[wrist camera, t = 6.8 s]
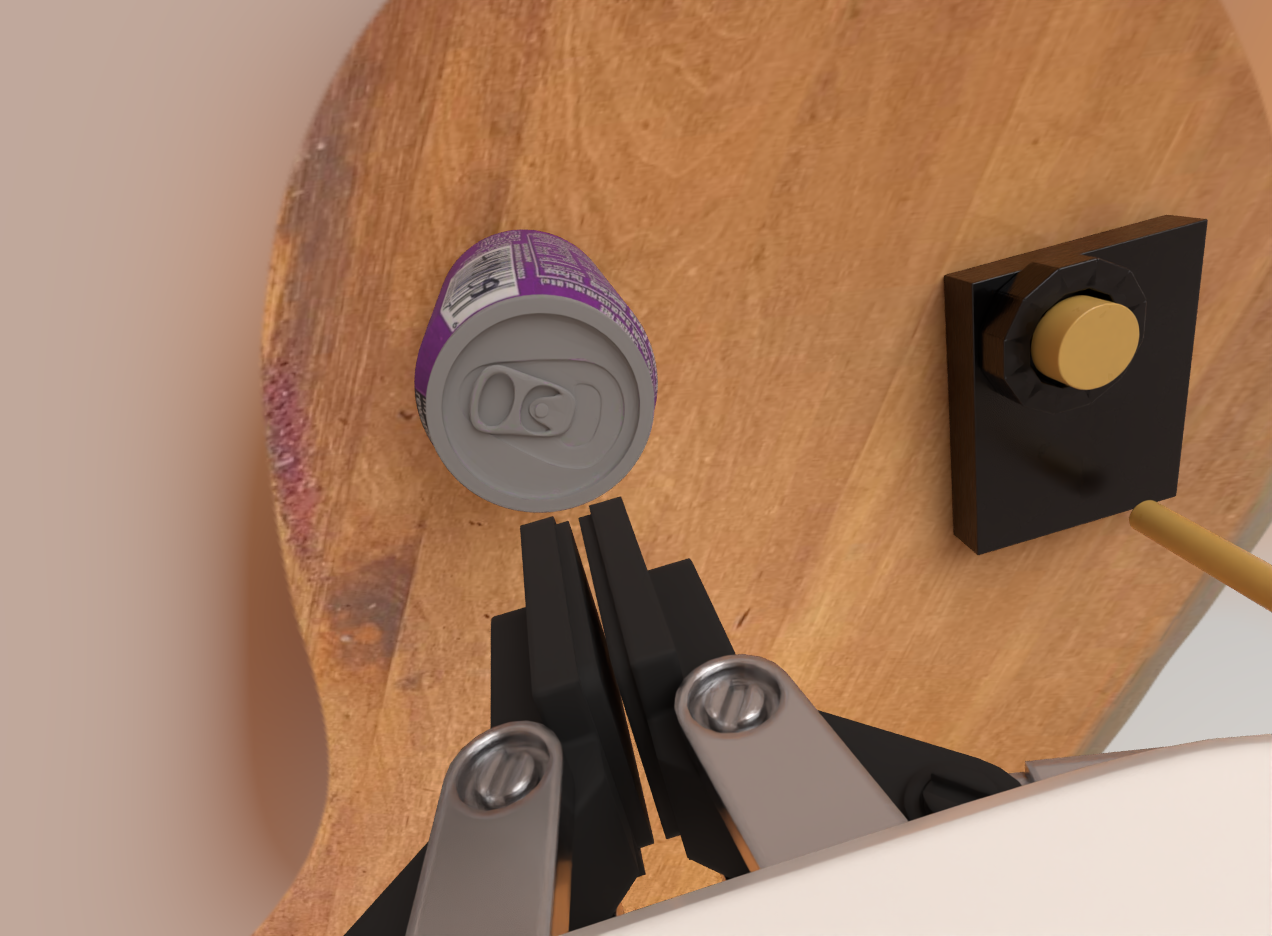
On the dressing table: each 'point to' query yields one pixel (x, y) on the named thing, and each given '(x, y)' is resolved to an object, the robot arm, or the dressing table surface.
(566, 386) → the beverage can
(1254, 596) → the lamp
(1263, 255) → the dressing table surface
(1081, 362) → the button
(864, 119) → the dressing table surface
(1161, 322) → the lamp base
